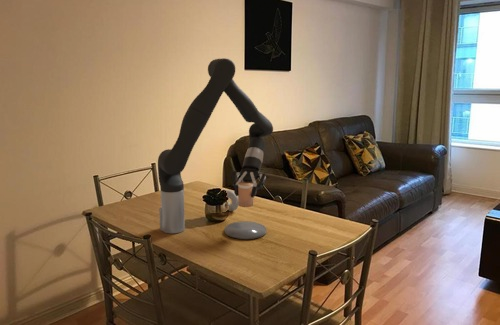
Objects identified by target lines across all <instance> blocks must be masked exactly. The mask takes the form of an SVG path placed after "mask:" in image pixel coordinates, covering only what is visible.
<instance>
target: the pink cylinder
mask: <svg viewBox="0 0 500 325" xmlns="http://www.w3.org/2000/svg"><path fill="white" fill-rule="evenodd" d="M253 187H254V185H253V182H248V181H243V182H239V183H238V196H237V197H238V207H242V208H251V207H253V206H254V198H252V197H251V193H252V189H253Z"/></svg>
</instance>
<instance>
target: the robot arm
mask: <svg viewBox="0 0 500 325" xmlns="http://www.w3.org/2000/svg"><path fill="white" fill-rule="evenodd" d="M207 74H208V76H209V77H210V78H209V80H208V82H207V84H206V85H205V87H204V88H203V89H202V90H201V91H200V93H199V94H198V95H197V96H196V97H195V98H194V99H193V101H192V102H191V104H190V105H188V108H187V110H186V112H185V114H184V116H183V119H182V121H181V125H180V129H179V134H178V137H177V140H176V141H175V143H174V144H173V146H172V148H171V149H169V148H168V149H165V150H163V151H161V153H160V154H159V156H158V159H157V171H158V172H157V175H158V182H159V187H160V205H161V206H160V207H159V210H158V212H159V231H161V232H163V233H165V234H179V233H182V232H184V231H185V229H186V226H185V225H186V224H185V195H184V194H185V193H184V192H185V190H184V189H185V186H184V181H183V179H182V174H181V173H182V172H183V171H184V169H185V167H186V165H187V163H188V161H189V158H190V156H191V153H192V151H193V149H194V148H195V145H196V143H197V142H198V140H199V138H200V136H201V134H202V132H203V130H204V128H205V127H206V125H207V123H208V122H209V120H210V118H211V117H212V114H213V112H214V111H215V108H216V107H217V104H218V102H219V100H220V99H221V97H222V95H223V93H225V95H226V96H227V97H228V98H229V99H230V101H231V102H232V104H233V105H234V107H235V108H236V109H237V111H238V112H239V114H240V115H241V117H242V118H243V119H244V121H245V122H246V123H252V124H251V125H250V126H249V128H248V138H249V139H248V140H249V141H248V142H249V143H248V147H247V151H246V153H245V156H244V159H243V164H242V167H241V170H240V172H239V171H238V172H237V171H235V170H234V171H233V172H232V178H231V179H232V180H231V184H232V186H233V187H234V191H233V192H234V193H235V195H236V196H237V197H238V183H239V182H243V181H248V182H252V183H253V189H252V193H251V197H252V198H253V199H254V198H255V197H256V196H257V192H258V190H259V189H261V190H262V189H263V187H264V185H265V183H266V180H267V176H266V174H265V173H261V168H262V164H263V161H264V160H263V159H264V153H265V149H266V141H265V139H264V138H265V137H269V136H271V135H272V134H273V132H274V126H273V123H272V122H271V121H270V119H268V118H267V117H266V115H264V114H263V113H262V112H260V111H259V110H258V108H257V106H256V105H255V104H254V101H252V99H251V98H250V97H249V96H248V95H247V93H245V92H244V91H243V90H242V89H241V88H240V86H238V84H237V83H236V82H235V80H234V77H235V74H236V65H235V63H234V61H233V60H232V59H229V58H214V59H212V61H210V62H209V64H208V67H207ZM239 176H240V177H239ZM238 178H239V179H238ZM258 179H259V182H258V183H257V180H258ZM237 180H238V181H237Z"/></svg>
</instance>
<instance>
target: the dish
mask: <svg viewBox="0 0 500 325" xmlns="http://www.w3.org/2000/svg"><path fill="white" fill-rule="evenodd" d="M266 233H267V227H266V226H265V225H263V223H259V222H255V221H247V220H246V221H245V220H244V221H243V220H242V221H236V222H232V223H228V224H227V225H225V227H224V234H225V235H226V236H228V237H229V238H232V239H238V240H239V239H240V240H252V239H258V238H261V237H263V236H265V234H266ZM266 235H267V234H266Z"/></svg>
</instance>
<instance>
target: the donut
mask: <svg viewBox="0 0 500 325" xmlns="http://www.w3.org/2000/svg"><path fill="white" fill-rule="evenodd" d="M225 191H226V193H227V197H228V199H230V201H231V203H230V201H229V200H228V206H229V212H233V211H236V210H237V209H238V207H239V205H238V196H236V195H235V193H234V191H233V190H230V189H229V190H225Z"/></svg>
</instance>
